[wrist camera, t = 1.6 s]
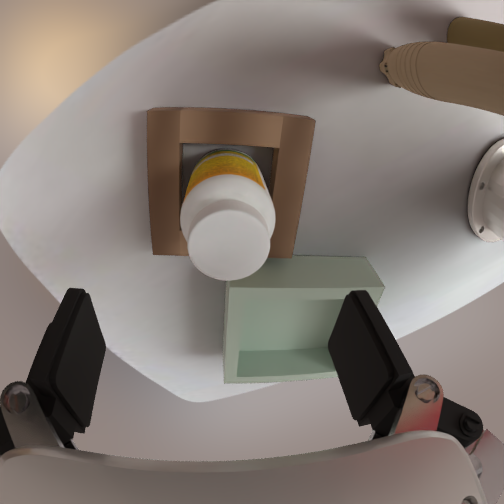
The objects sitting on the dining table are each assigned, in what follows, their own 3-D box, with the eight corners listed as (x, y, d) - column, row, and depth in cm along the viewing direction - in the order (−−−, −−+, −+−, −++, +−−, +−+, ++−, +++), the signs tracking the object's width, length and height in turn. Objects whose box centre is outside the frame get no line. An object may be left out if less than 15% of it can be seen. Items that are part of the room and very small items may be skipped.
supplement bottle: (273, 193, 24) (301, 265, 16) (213, 223, 24) (211, 306, 16) (240, 133, 21) (254, 176, 13) (176, 168, 22) (151, 232, 14)
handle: (374, 107, 20) (530, 177, 8) (360, 29, 17) (524, 16, 4) (423, 102, 20) (573, 166, 7) (412, 29, 16) (572, 39, 4)
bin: (365, 257, 28) (385, 286, 24) (331, 346, 35) (342, 376, 31) (227, 253, 26) (229, 287, 22) (222, 350, 33) (224, 383, 29)
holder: (307, 116, 20) (315, 120, 19) (286, 245, 26) (291, 258, 25) (153, 107, 19) (147, 111, 17) (157, 241, 25) (152, 254, 23)
